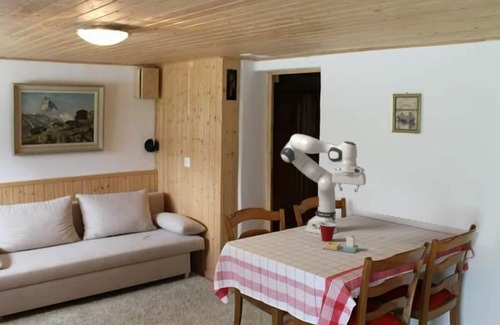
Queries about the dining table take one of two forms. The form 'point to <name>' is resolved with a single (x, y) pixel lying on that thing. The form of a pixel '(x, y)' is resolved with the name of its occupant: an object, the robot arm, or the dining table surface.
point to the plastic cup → (327, 231)
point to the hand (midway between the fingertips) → (348, 191)
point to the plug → (350, 241)
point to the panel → (340, 248)
